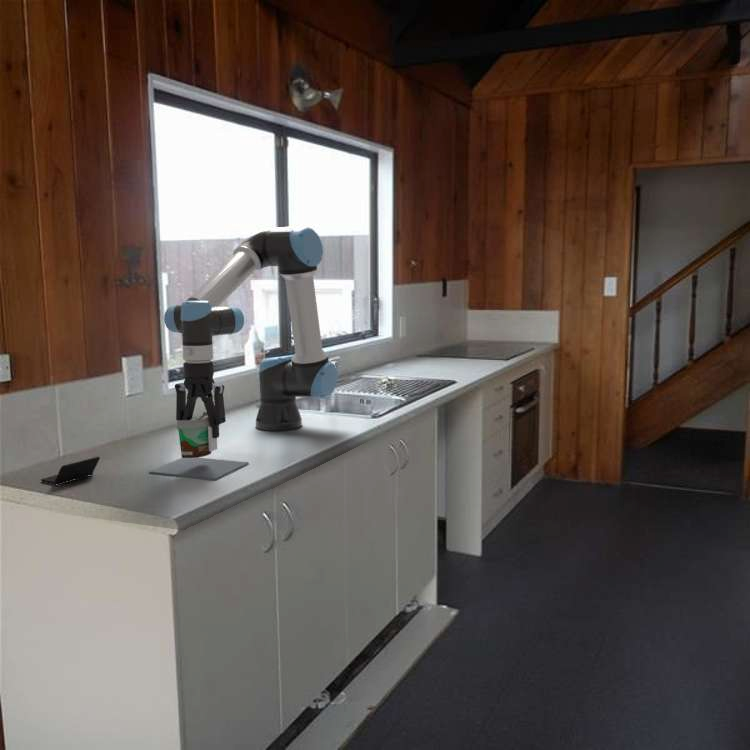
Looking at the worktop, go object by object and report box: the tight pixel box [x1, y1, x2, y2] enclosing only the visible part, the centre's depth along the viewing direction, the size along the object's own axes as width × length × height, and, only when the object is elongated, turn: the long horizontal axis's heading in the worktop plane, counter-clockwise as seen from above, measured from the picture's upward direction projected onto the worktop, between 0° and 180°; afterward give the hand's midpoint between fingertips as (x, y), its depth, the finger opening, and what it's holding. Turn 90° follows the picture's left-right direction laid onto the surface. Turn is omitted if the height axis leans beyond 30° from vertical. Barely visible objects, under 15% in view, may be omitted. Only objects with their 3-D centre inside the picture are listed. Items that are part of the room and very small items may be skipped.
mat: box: [148, 457, 250, 481], centre depth 195 cm, size 16×20×1 cm
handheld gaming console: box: [40, 456, 101, 486], centre depth 186 cm, size 12×7×10 cm
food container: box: [176, 411, 212, 458], centre depth 193 cm, size 12×6×10 cm, turn 159°
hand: (202, 448), depth 194 cm, fingers closed on food container, 6 cm apart
